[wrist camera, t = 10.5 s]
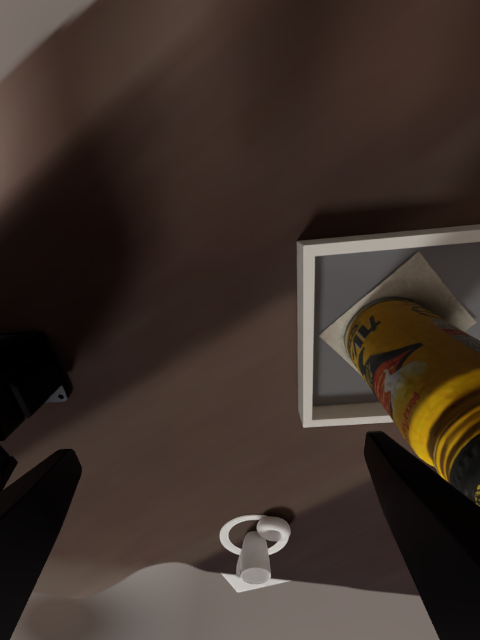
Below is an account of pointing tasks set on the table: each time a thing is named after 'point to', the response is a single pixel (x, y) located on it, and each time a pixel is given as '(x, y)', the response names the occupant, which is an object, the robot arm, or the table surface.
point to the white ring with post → (255, 551)
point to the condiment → (420, 367)
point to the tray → (349, 288)
